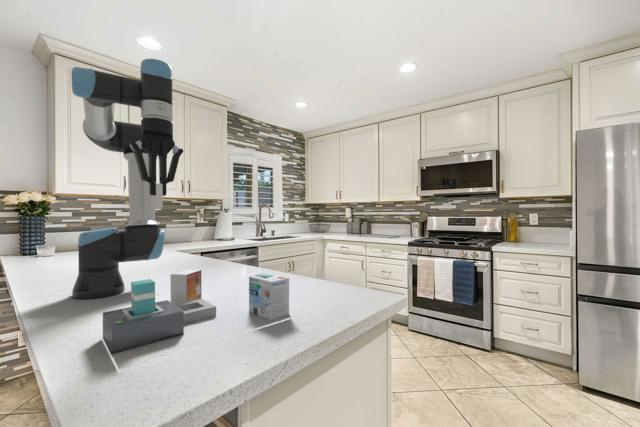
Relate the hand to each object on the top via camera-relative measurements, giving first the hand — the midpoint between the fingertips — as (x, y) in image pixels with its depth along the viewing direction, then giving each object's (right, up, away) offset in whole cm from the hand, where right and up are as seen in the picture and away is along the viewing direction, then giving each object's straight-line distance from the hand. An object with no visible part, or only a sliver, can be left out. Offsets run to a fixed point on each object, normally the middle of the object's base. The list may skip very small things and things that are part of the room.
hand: (158, 207), depth 81 cm
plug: (+3, -30, -11) cm, 32 cm away
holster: (+8, -30, +2) cm, 31 cm away
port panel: (+3, -31, -11) cm, 33 cm away
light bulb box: (+29, -31, +4) cm, 43 cm away
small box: (+2, -31, +13) cm, 33 cm away
